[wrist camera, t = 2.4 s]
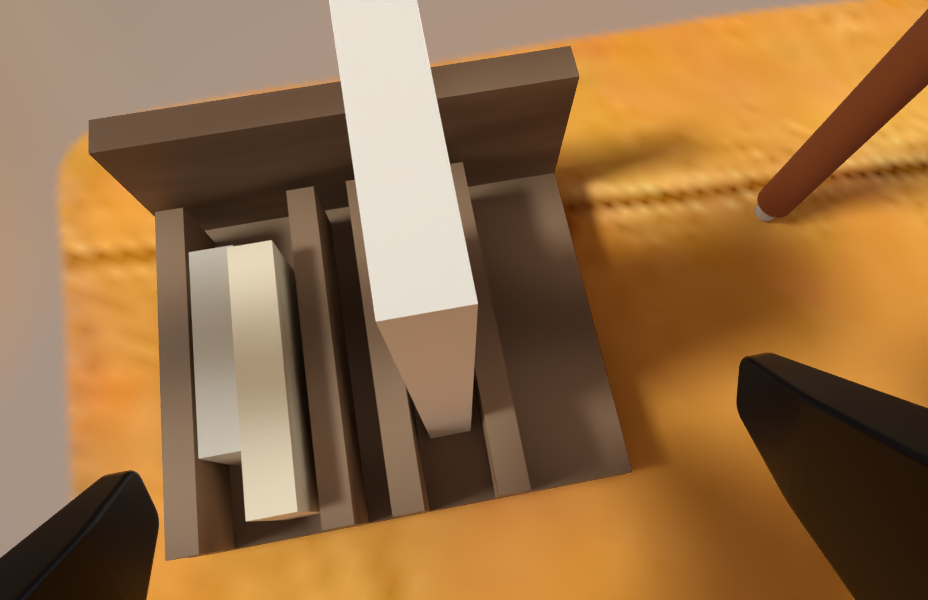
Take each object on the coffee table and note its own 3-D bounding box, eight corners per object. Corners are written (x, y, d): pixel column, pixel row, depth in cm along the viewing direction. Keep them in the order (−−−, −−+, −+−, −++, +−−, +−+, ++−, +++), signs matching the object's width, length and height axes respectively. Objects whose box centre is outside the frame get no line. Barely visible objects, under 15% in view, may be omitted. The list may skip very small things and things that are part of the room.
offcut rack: (620, 474, 20) (690, 457, 14) (208, 554, 19) (85, 574, 13) (542, 170, 23) (570, 46, 17) (192, 227, 22) (88, 119, 16)
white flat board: (470, 431, 19) (477, 304, 7) (430, 438, 19) (375, 321, 7) (441, 276, 20) (411, -27, 9) (404, 282, 20) (327, -14, 9)
